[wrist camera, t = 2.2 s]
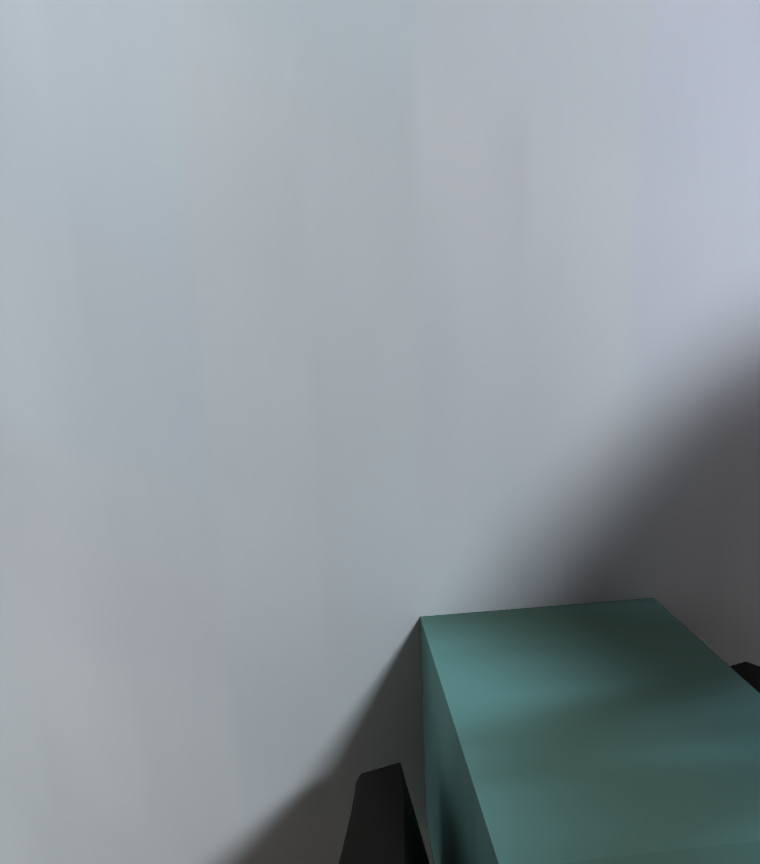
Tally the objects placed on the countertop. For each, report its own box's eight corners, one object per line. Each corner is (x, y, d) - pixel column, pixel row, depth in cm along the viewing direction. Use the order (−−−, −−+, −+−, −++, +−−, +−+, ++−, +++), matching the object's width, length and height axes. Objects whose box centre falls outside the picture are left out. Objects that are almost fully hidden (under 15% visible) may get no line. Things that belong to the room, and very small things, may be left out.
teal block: (651, 596, 11) (906, 823, 6) (642, 799, 12) (862, 1141, 7) (419, 615, 11) (499, 869, 6) (426, 823, 12) (502, 1195, 7)
